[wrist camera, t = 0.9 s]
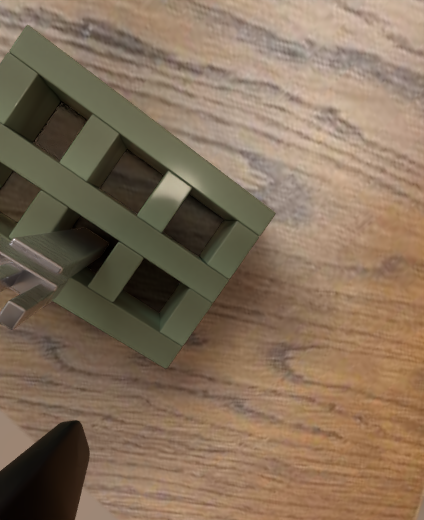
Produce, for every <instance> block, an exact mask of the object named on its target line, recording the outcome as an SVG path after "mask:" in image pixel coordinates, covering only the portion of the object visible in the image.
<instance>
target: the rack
mask: <svg viewBox="0 0 424 520" xmlns="http://www.w3.org/2000/svg"><path fill="white" fill-rule="evenodd" d="M9 52H10V53H7V54H6V56H5V57H4V59H3V60H2V62H1V63H0V189H1V187H2V186H3V184H4V183H5V182H6V180H7V179H8V177H9V176H10V174H11V173H12V171H15V172H16V173H18V174H19V175H21V176H22V177H24V178H25V179H27V180H28V181H30V182H31V183H33V184H34V185H36V186H37V187H39V188H40V189H42V190H41V191H39V193H38V194H37V196H36V197H35V199H34V200H33V202H32V203H31V205H30V206H29V207H28V209H27V210H26V212H25V213H24V215H23V216H22V218H21V219H20V221H19V222H18V223H17V222H15V221H14V220H12V219H10V218H9V217H7V216H6V215H4V214H3V213H1V212H0V236H1V237H3V238H4V239H6V240H8V241H9V242H11V240H12V239H13V238H16V237H23V236H30V235H37V234H43V233H50V232H57V231H64V230H70V229H72V227H73V226H74V224H75V223H76V221H77V220H78V218H79V217H80V216H82V217H84V218H85V219H87V220H88V221H90V222H91V223H93V224H94V225H96V226H97V227H99V228H100V229H102V230H103V231H105V232H106V233H108V234H109V235H111V236H112V237H114V238H115V239H117V240H118V241H119V242H118V243H117V244H116V246H115V247H114V249H113V250H112V252H111V253H110V254H109V256H108V257H107V259H106V260H105V262H104V263H103V265H102V266H101V267H100V269H99V270H98V272H97V273H96V272H94V271H92V270H91V269H89V268H88V267H85V268H84V269H82V270H81V271H79V272H78V273H76V274H75V275H73V276H72V277H70V278H69V279H68V282H67V283H66V285H65V286H64V288H63V289H62V290H61V292H60V293H59V295H58V296H57V297H56V298H55V299H54V300H52V301H53V302H55V303H57V304H58V305H60V306H62V307H63V308H65V309H67V310H68V311H70V312H72V313H73V314H75V315H77V316H78V317H80V318H82V319H83V320H85V321H87V322H88V323H90V324H92V325H93V326H95V327H97V328H98V329H100V330H102V331H103V332H105V333H107V334H108V335H110V336H112V337H113V338H115V339H117V340H118V341H120V342H122V343H123V344H125V345H127V346H128V347H130V348H132V349H133V350H135V351H137V352H138V353H140V354H142V355H143V356H145V357H147V358H148V359H150V360H152V361H153V362H155V363H157V364H158V365H160V366H162V367H163V368H165V369H167V368H168V367H169V365H170V364H171V362H172V361H173V360H174V358H175V357H176V355H177V354H178V353H179V351H180V350H181V348H182V346H184V344H185V343H186V341H187V340H188V338H189V337H190V336H191V334H192V333H193V331H194V330H195V328H196V327H197V326H198V324H199V323H200V321H201V320H202V318H203V317H204V316H205V314H206V313H207V311H208V310H209V308H210V307H211V306H212V303H213V302H214V301H215V300H216V298H217V297H218V296H219V294H220V293H221V291H222V290H223V288H224V287H225V286H226V284H227V283H228V281H229V280H228V279H230V278H231V277H232V275H233V274H234V273H235V271H236V270H237V268H238V267H239V265H240V264H241V263H242V261H243V260H244V258H245V257H246V255H247V254H248V253H249V251H250V250H251V248H252V247H253V245H254V244H255V243H256V241H257V240H258V238H259V236H260V235H261V234H262V233H263V231H264V230H265V228H266V227H267V226H268V224H269V223H270V221H271V220H272V218H273V217H274V216H275V212H274V211H272V210H271V209H270V208H268V207H267V206H266V205H265V204H263V203H262V202H261V201H259V200H258V199H257V198H255V197H254V196H253V195H251V194H250V193H249V192H247V191H246V190H245V189H243V188H242V187H241V186H240V185H238V184H237V183H236V182H234V181H233V180H232V179H230V178H229V177H228V176H226V175H225V174H224V173H222V172H221V171H220V170H218V169H217V168H216V167H215V166H213V165H212V164H211V163H209V162H208V161H207V160H205V159H204V158H203V157H201V156H200V155H199V154H197V153H196V152H195V151H194V150H192V149H191V148H190V147H188V146H187V145H186V144H184V143H183V142H182V141H180V140H179V139H178V138H176V137H175V136H174V135H172V134H171V133H170V132H169V131H167V130H166V129H165V128H163V127H162V126H161V125H159V124H158V123H157V122H155V121H154V120H153V119H151V118H150V117H149V116H147V115H146V114H145V113H144V112H142V111H141V110H140V109H138V108H137V107H136V106H134V105H133V104H132V103H130V102H129V101H128V100H126V99H125V98H124V97H122V96H121V95H120V94H119V93H117V92H116V91H115V90H113V89H112V88H111V87H109V86H108V85H107V84H105V83H104V82H103V81H101V80H100V79H99V78H97V77H96V76H95V75H94V74H92V73H91V72H90V71H88V70H87V69H86V68H84V67H83V66H82V65H80V64H79V63H78V62H76V61H75V60H74V59H73V58H71V57H70V56H69V55H67V54H66V53H65V52H63V51H62V50H61V49H59V48H58V47H57V46H55V45H54V44H53V43H51V42H50V41H49V40H48V39H46V38H45V37H44V36H42V35H41V34H40V33H38V32H37V31H36V30H34V29H33V28H32V27H30V26H29V25H27V26H26V27H25V29H24V30H23V31H22V33H21V34H20V36H19V37H18V39H17V40H16V42H15V43H14V45H13V46H12V48H11V49H10V51H9ZM61 101H62V102H64V103H65V104H67V105H68V106H69V107H71V108H72V109H73V110H75V111H76V112H78V113H79V114H80V115H82V116H83V117H84V118H86V119H87V120H88V121H87V122H86V124H85V125H84V127H83V128H82V130H81V131H80V133H79V134H78V136H77V137H76V138H75V140H74V141H73V143H72V144H71V146H70V147H69V149H68V150H67V152H66V153H65V154H64V156H63V157H62V159H61V160H58V159H57V158H55V157H54V156H52V155H51V154H50V153H48V152H47V151H45V150H44V149H42V148H41V147H39V146H38V145H37V144H35V143H34V142H32V141H34V140H35V138H36V137H37V135H38V134H39V132H40V131H41V129H42V128H43V126H44V125H45V123H46V122H47V121H48V119H49V118H50V116H51V115H52V113H53V112H54V110H55V109H56V107H57V106H58V104H59V103H60V102H61ZM126 148H127V149H128V150H130V151H131V152H132V153H134V154H135V155H137V156H138V157H139V158H141V159H142V160H143V161H145V162H146V163H148V164H149V165H150V166H152V167H153V168H154V169H156V170H157V171H158V172H160V173H161V174H163V175H164V177H163V178H162V179H161V181H160V182H159V184H158V185H157V187H156V188H155V190H154V191H153V192H152V194H151V195H150V197H149V198H148V200H147V201H146V203H145V204H144V205H143V207H142V208H141V210H140V211H139V213H138V214H136V213H135V212H134V211H132V210H131V209H129V208H128V207H126V206H125V205H123V204H122V203H121V202H119V201H118V200H116V199H115V198H113V197H112V196H110V195H109V194H107V193H106V192H105V191H103V190H102V189H100V187H101V185H102V184H103V182H104V181H105V180H106V178H107V177H108V175H109V174H110V172H111V171H112V169H113V168H114V166H115V165H116V164H117V162H118V161H119V159H120V158H121V156H122V155H123V153H124V152H125V151H126ZM188 194H190V195H191V196H193V197H194V198H196V199H197V200H198V201H200V202H201V203H202V204H204V205H205V206H207V207H208V208H209V209H211V210H212V211H213V212H215V213H216V214H218V215H219V216H220V217H222V218H223V219H224V221H223V222H222V224H221V225H220V227H219V228H218V229H217V231H216V232H215V234H214V235H213V237H212V238H211V239H210V241H209V242H208V244H207V245H206V247H205V248H204V249H203V251H202V252H201V254H200V255H199V256H197V255H196V254H194V253H193V252H192V251H190V250H189V249H187V248H186V247H184V246H183V245H181V244H180V243H178V242H177V241H176V240H174V239H173V238H171V237H170V236H168V235H167V234H165V233H164V232H163V230H164V229H165V228H166V226H167V225H168V223H169V222H170V220H171V219H172V217H173V216H174V215H175V213H176V212H177V210H178V209H179V207H180V206H181V205H182V203H183V202H184V200H185V199H186V197H187V196H188ZM144 258H145V259H147V260H148V261H150V262H151V263H153V264H154V265H156V266H157V267H159V268H160V269H162V270H163V271H165V272H166V273H168V274H169V275H171V276H172V277H174V278H175V279H177V280H178V281H180V284H179V285H178V287H177V288H176V289H175V291H174V292H173V294H172V295H171V297H170V298H169V299H168V301H167V302H166V304H165V305H164V307H163V308H162V310H161V311H160V313H159V312H157V311H155V310H154V309H152V308H151V307H149V306H148V305H146V304H144V303H143V302H141V301H140V300H138V299H137V298H135V297H133V296H132V295H130V294H129V293H127V292H125V291H124V290H122V289H123V288H124V287H125V285H126V284H127V282H128V281H129V279H130V278H131V276H132V275H133V274H134V272H135V271H136V269H137V268H138V266H139V265H140V264H141V262H142V261H143V259H144Z"/></svg>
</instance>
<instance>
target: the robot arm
mask: <svg viewBox="0 0 424 520" xmlns="http://www.w3.org/2000/svg"><path fill="white" fill-rule="evenodd" d="M89 456H90V451H89V446H88V443H87V439H86V436H85V433H84V430H83V427H82V424H81V423H80V422H79V421H77V420H75V421H66V422H62V423H60V424H58V425H57V426H56V427H55V428H53V429H52V430H51V431H50V432H48V433H47V434H46V435H45V436H43V437H42V438H41V439H40V440H38V441H37V442H36V443H35V444H33V445H32V446H31V447H30V448H29V449H27V450H26V451H25V452H24V453H22V454H21V455H20V456H18V457H17V458H16V459H15V460H14V461H12V462H11V463H10V464H9V465H7V466H6V467H5V468H3V469H2V470H1V471H0V520H75V517H76V512H77V508H78V504H79V500H80V496H81V491H82V487H83V483H84V479H85V475H86V470H87V466H88V462H89Z"/></svg>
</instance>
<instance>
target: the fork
mask: <svg viewBox="0 0 424 520" xmlns="http://www.w3.org/2000/svg"><path fill="white" fill-rule="evenodd" d="M108 245H109V242H107V241H106V240H104V239H103V238H101V237H99V236H98V235H96V234H95V233H93V232H92V231H90V230H89V229H87V228H85V227H84V228H77V229H70V230H64V231H57V232H50V233H43V234H37V235H30V236H23V237H16V238H13V239H12V240H11V242H9V241H8V240H6V239H4V238H3V237H1V236H0V292H1V291H3V290H5V289H7V288H10V289H12V290H13V291H15V292H17V293H18V294H20V295H18V296H17V297H15V298H13V299H11V300H9V301H8V302H7V303H6V305H5V306H4V308H3V309H2V310H1V312H0V324H2V325H4V326H6V327H7V328H9V329H11V330H13V329H15V328H16V327H17V326H19V325H20V324H21V323H23V322H24V321H25V320H27V319H28V318H29V317H30V316H32V315H33V314H34V313H36V312H37V311H38V310H39V309H41V308H42V307H45V306H46V305H47V304H49V303H50V302H51V301H52V300H54V299H55V298H56V297H57V296H58V295H59V293H60V292H61V290H62V289H63V288H64V286H65V285H66V283H67V282H68V279H69V278H70V277H72V276H73V275H75V274H76V273H78V272H79V271H81V270H82V269H84V268H85V267H87V266H88V265H89V264H91V263H92V262H94V261H95V260H97V259H98V258H100V257H101V256H102V254H103V253H104V251H105V250H106V248H107V247H108Z"/></svg>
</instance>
